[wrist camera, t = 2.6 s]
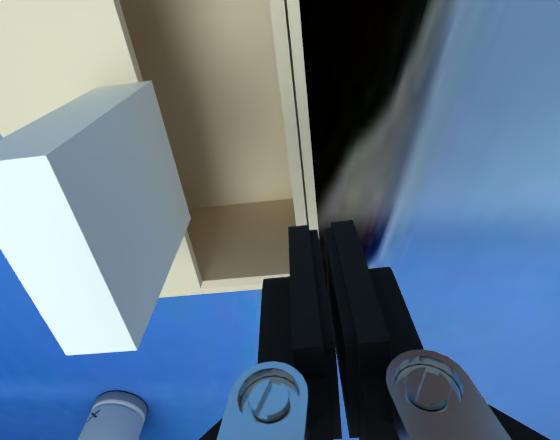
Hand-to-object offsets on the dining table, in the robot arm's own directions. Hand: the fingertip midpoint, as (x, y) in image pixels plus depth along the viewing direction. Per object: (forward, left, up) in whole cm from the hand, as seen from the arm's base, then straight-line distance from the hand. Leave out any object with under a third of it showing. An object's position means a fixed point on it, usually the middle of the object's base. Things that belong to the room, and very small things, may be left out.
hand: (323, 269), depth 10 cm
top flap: (+10, 0, -10) cm, 14 cm away
